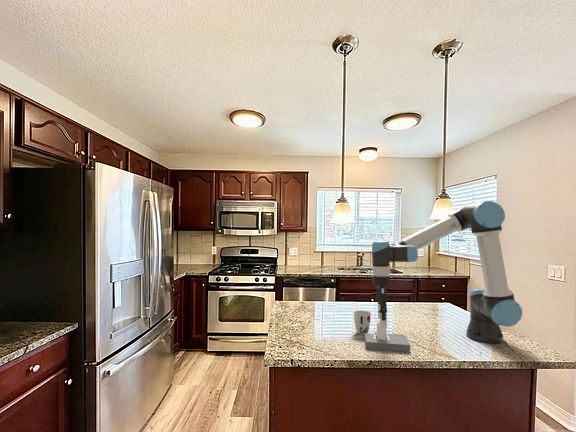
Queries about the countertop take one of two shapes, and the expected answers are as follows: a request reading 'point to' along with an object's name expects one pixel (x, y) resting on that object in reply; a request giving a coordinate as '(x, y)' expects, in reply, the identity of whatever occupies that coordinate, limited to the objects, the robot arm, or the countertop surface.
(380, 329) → the block
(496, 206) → the robot arm
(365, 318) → the cup
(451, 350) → the countertop surface
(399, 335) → the phone
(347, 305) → the countertop surface
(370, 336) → the plate
